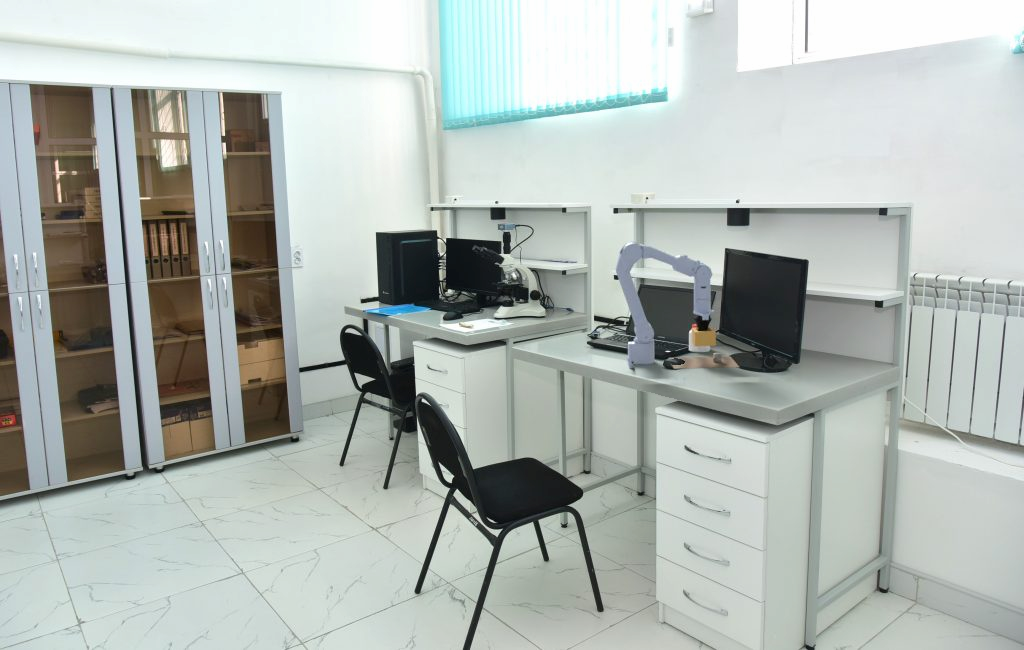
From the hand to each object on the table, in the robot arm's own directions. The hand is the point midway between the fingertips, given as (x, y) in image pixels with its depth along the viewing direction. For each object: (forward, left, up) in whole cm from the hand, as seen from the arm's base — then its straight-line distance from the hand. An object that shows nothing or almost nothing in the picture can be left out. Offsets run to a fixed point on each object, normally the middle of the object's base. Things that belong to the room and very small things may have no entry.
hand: (702, 336), depth 267 cm
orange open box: (0, -3, -2) cm, 3 cm away
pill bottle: (+2, +17, -10) cm, 20 cm away
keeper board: (0, -3, -10) cm, 11 cm away
